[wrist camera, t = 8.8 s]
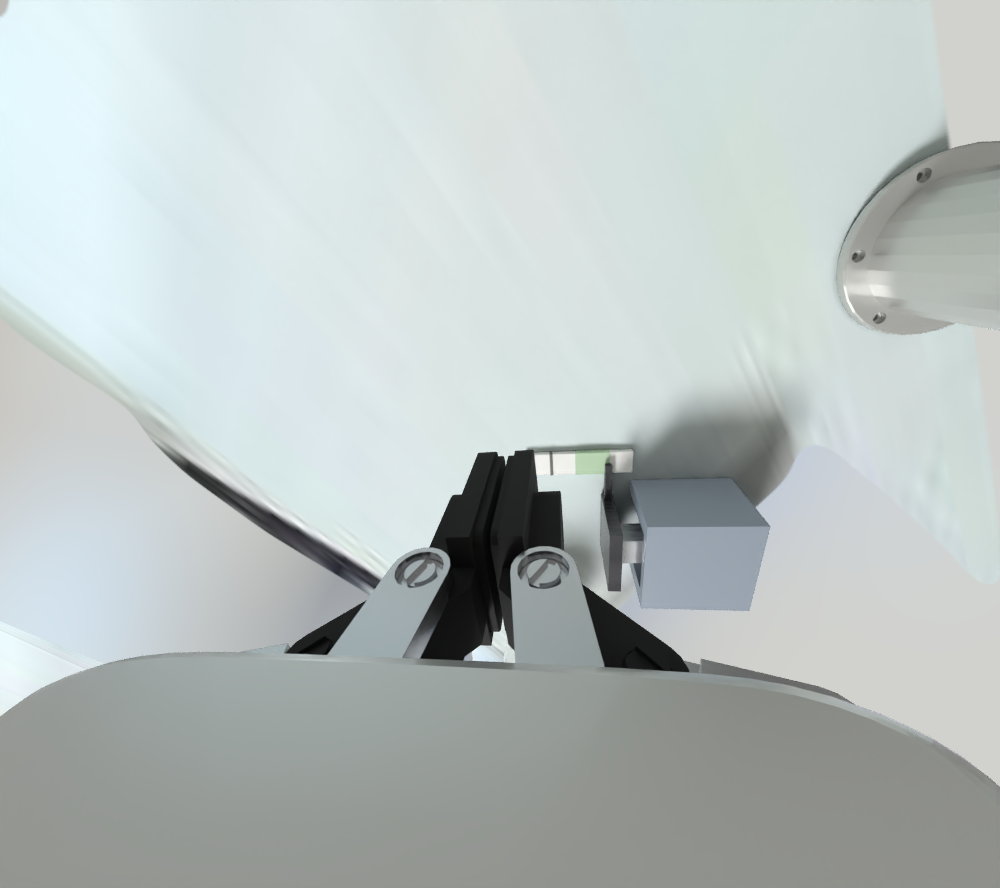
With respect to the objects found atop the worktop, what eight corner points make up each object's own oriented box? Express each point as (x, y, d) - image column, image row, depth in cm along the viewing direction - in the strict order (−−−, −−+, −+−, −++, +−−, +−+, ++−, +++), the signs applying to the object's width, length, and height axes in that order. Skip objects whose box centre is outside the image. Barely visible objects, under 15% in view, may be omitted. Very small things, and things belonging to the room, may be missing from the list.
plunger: (705, 457, 38) (735, 496, 32) (692, 544, 43) (717, 592, 37) (601, 460, 40) (610, 498, 34) (600, 544, 45) (608, 591, 38)
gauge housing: (736, 444, 38) (779, 488, 31) (716, 552, 44) (749, 610, 37) (525, 452, 41) (520, 493, 34) (533, 552, 47) (530, 605, 40)
